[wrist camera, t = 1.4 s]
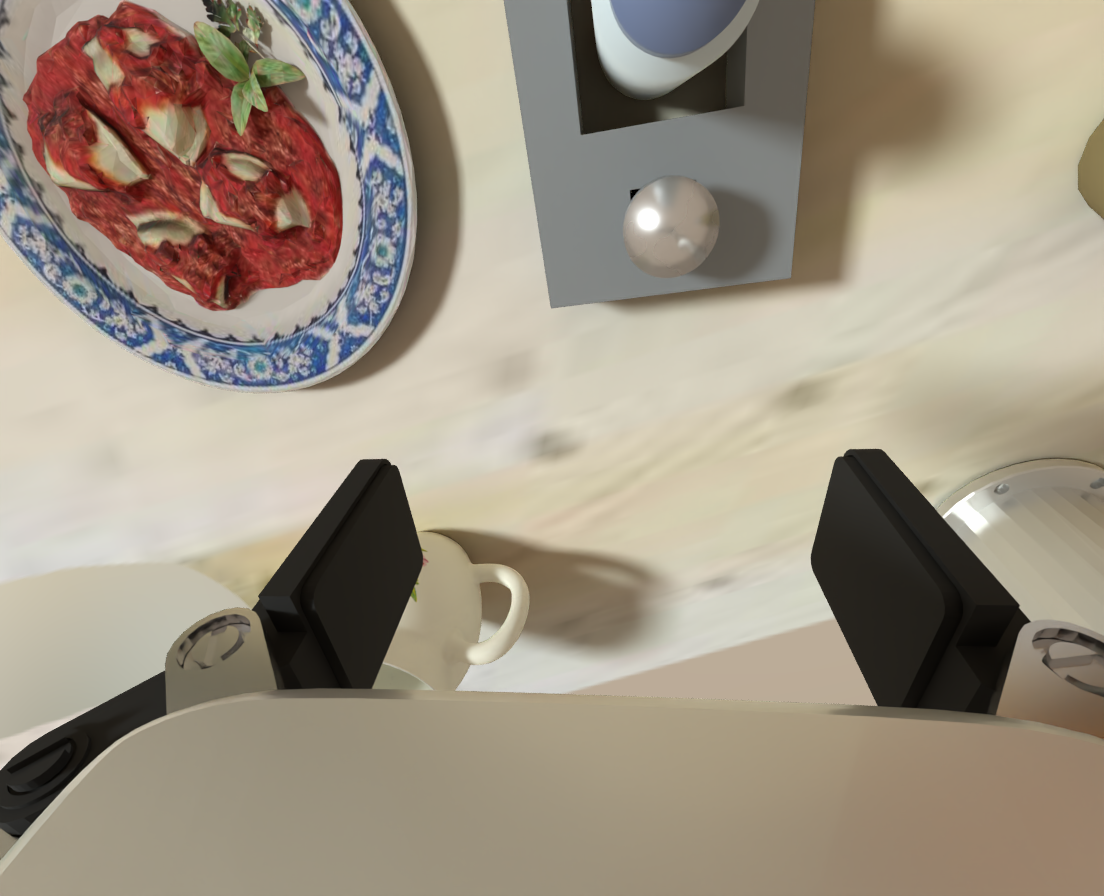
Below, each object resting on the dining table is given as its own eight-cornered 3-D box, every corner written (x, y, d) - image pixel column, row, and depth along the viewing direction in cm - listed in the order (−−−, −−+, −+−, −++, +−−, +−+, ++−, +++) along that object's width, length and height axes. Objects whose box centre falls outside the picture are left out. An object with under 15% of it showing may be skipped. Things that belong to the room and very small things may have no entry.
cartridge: (704, -50, 22) (792, -215, 12) (704, 89, 25) (776, 55, 14) (590, -24, 23) (577, -156, 12) (601, 108, 25) (598, 89, 15)
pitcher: (564, 581, 43) (548, 746, 31) (387, 620, 48) (316, 776, 36) (511, 480, 38) (468, 634, 26) (319, 535, 43) (212, 685, 31)
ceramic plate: (228, 434, 38) (201, 455, 36) (-130, 68, 28) (-204, 61, 25) (514, 267, 30) (505, 279, 27) (160, -354, 19) (93, -429, 17)
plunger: (702, 163, 24) (720, 169, 20) (702, 251, 26) (718, 271, 22) (617, 177, 25) (619, 185, 21) (623, 262, 27) (627, 283, 23)
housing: (503, -82, 22) (485, -121, 19) (795, -156, 20) (834, -214, 17) (557, 289, 30) (551, 308, 27) (768, 261, 28) (790, 277, 25)
